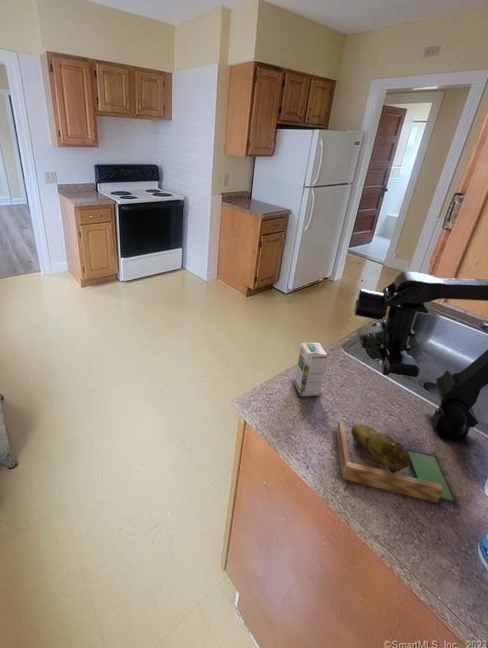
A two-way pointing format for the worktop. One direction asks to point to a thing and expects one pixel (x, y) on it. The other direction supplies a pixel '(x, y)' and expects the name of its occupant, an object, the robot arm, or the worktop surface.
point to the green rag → (429, 472)
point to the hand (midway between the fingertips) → (384, 374)
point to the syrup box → (310, 369)
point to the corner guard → (384, 475)
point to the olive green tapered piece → (382, 447)
